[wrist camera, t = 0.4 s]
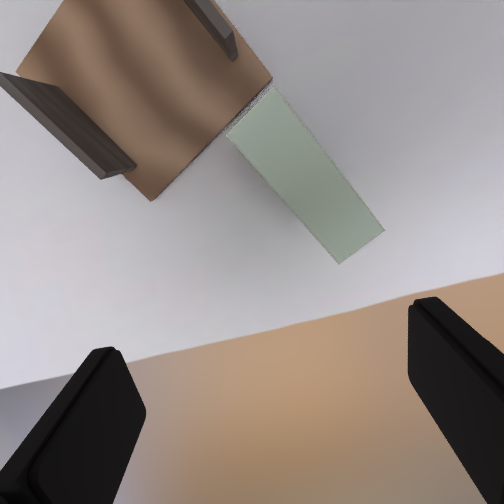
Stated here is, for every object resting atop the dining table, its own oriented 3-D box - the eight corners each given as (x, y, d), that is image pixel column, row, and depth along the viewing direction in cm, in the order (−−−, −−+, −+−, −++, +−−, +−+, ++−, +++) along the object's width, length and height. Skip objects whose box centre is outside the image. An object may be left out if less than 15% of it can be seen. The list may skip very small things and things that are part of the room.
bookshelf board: (141, -91, 25) (87, -197, 17) (271, 79, 29) (277, 59, 21) (26, 74, 29) (-58, 52, 21) (154, 198, 34) (124, 218, 26)
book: (266, 106, 30) (274, 85, 17) (335, 192, 33) (385, 229, 20) (237, 134, 31) (224, 135, 18) (307, 215, 34) (338, 264, 22)
